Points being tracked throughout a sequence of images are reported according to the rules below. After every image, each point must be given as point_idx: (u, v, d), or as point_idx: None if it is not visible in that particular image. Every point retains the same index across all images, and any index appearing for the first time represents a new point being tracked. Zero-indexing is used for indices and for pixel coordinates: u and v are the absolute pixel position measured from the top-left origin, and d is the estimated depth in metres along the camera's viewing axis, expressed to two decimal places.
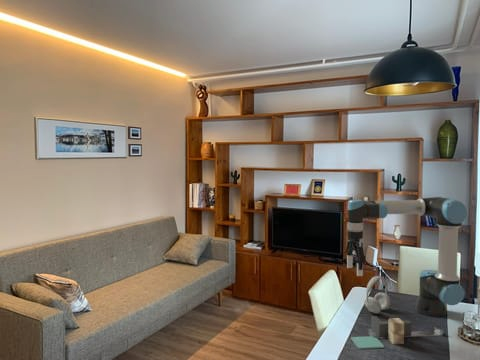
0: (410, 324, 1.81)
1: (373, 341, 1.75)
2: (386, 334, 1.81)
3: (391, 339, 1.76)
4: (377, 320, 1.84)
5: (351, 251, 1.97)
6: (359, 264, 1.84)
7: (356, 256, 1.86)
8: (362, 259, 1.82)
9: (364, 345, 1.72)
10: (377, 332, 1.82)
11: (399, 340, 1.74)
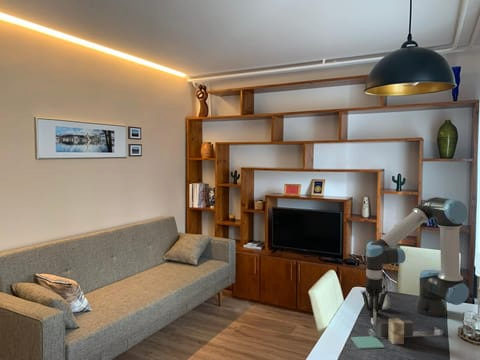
0: (412, 324, 1.82)
1: (373, 341, 1.75)
2: None
3: (391, 339, 1.76)
4: (379, 320, 1.84)
5: (375, 304, 1.86)
6: None
7: None
8: (366, 307, 1.86)
9: (364, 345, 1.72)
10: (379, 332, 1.82)
11: (399, 340, 1.74)
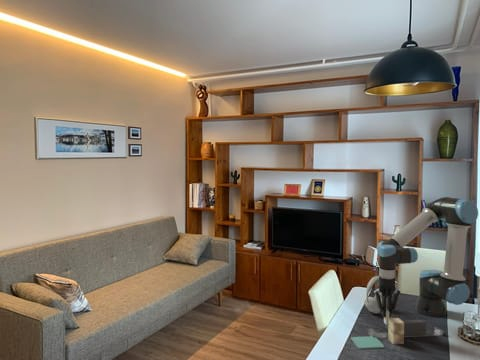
0: (425, 323, 1.82)
1: (373, 341, 1.75)
2: None
3: (391, 339, 1.76)
4: None
5: (388, 303, 1.87)
6: None
7: None
8: (379, 306, 1.87)
9: (364, 345, 1.72)
10: None
11: (399, 340, 1.74)
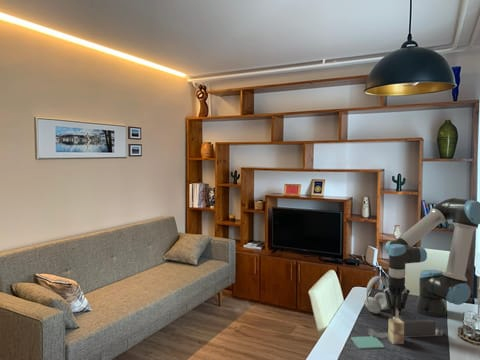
0: (434, 323, 1.82)
1: (373, 341, 1.75)
2: (410, 333, 1.82)
3: (391, 339, 1.76)
4: (401, 319, 1.85)
5: (397, 302, 1.87)
6: None
7: None
8: (388, 306, 1.87)
9: (364, 345, 1.72)
10: None
11: (399, 340, 1.74)
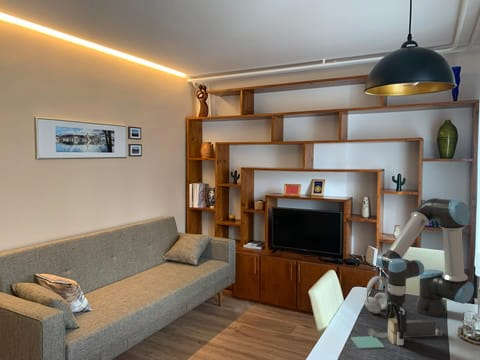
0: (434, 323, 1.82)
1: (373, 341, 1.75)
2: (410, 333, 1.82)
3: (391, 339, 1.76)
4: None
5: (392, 316, 1.80)
6: (400, 333, 1.71)
7: (397, 323, 1.73)
8: (404, 329, 1.69)
9: (364, 345, 1.72)
10: None
11: None
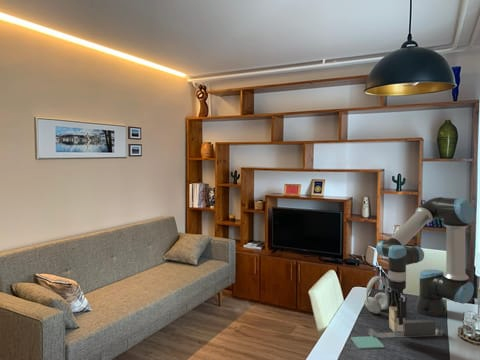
0: (434, 323, 1.82)
1: (373, 341, 1.75)
2: (410, 333, 1.82)
3: (392, 327, 1.76)
4: None
5: (394, 305, 1.78)
6: (399, 319, 1.72)
7: (397, 309, 1.73)
8: (403, 315, 1.70)
9: (364, 345, 1.72)
10: None
11: None
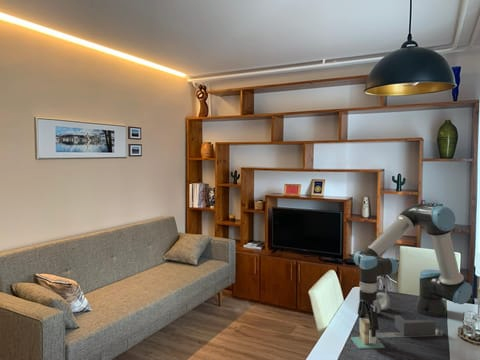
0: (434, 323, 1.82)
1: None
2: (410, 333, 1.82)
3: (362, 339, 1.74)
4: (401, 319, 1.85)
5: (364, 313, 1.79)
6: (372, 331, 1.68)
7: (369, 321, 1.70)
8: (375, 326, 1.66)
9: (364, 345, 1.72)
10: (401, 331, 1.83)
11: None
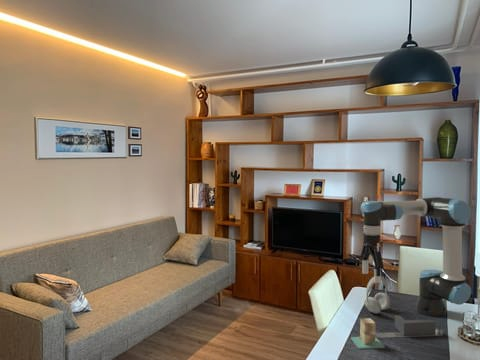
0: (434, 323, 1.82)
1: None
2: (410, 333, 1.82)
3: (362, 339, 1.74)
4: (401, 319, 1.85)
5: (367, 256, 1.84)
6: (377, 270, 1.71)
7: None
8: (380, 265, 1.70)
9: (364, 345, 1.72)
10: (401, 331, 1.83)
11: (370, 340, 1.72)
